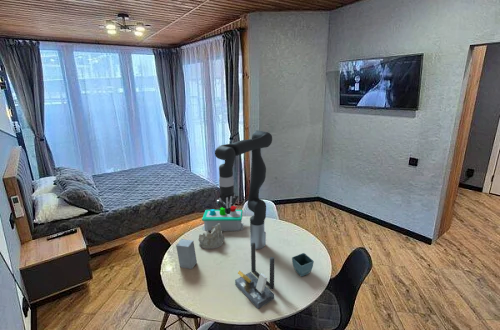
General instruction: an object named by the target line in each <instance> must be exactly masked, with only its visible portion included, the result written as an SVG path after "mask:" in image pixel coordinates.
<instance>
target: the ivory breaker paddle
mask: <svg viewBox="0 0 500 330" xmlns="http://www.w3.org/2000/svg"><path fill="white" fill-rule="evenodd" d="M259 274H260V275H259V276H258V278H257V279H258V282H257V286H256V289H257V290H258V291H259V292H260V293H261V292H263V291H264V288H265V286H266V285H267V284H266V281H268V276H266V275H265V274H264V272H263V273H259Z"/></svg>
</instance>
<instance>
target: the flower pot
mask: <svg viewBox="0 0 500 330" xmlns="http://www.w3.org/2000/svg"><path fill="white" fill-rule="evenodd" d="M291 261H292V266H293V270H295V272H296V273H297V274H298V275H299V276H300V277H304V276H306V275H308V274H310V273H311V272H312V269H313V267H314V262H315V261H314V260H313V259H312V258H311V257H310V256H308V255H307V254H306V253H305V252H303V253H300V254H297V255H295V256H292V257H291Z"/></svg>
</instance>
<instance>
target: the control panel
mask: <svg viewBox="0 0 500 330" xmlns="http://www.w3.org/2000/svg"><path fill="white" fill-rule="evenodd" d="M201 221H203V223H204V224H203V228H202V230H203V231H207V230H208V232H212V226H216V225H218V223H220V226H221V231H222V232H237V231H243V230H244V222H242V221H243V209H237V206H236V205H233V206H231V212H230V214H226V213H225V208H223V207H220V208H219V209H213V208H211V209H205V211H204V213H203V216H202V218H201Z"/></svg>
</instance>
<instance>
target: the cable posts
mask: <svg viewBox="0 0 500 330" xmlns="http://www.w3.org/2000/svg"><path fill="white" fill-rule="evenodd" d="M256 260H257V259H256V249H255V243H251V244H250V261H251V262H250V263H251V268H250V270H251V271H250V272H251V273H252V274H253V273H254V274H255V275H257V276H258V277H259V275H260V273H259V272H258V271H257V270H256V268H257V267H256V265H257V264H256ZM275 261H276V260H275V257H274V256H270V257H269V281H268V280H267V281H266V284H265V285H267V286H268V287H269V290H274V289H275Z"/></svg>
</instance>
